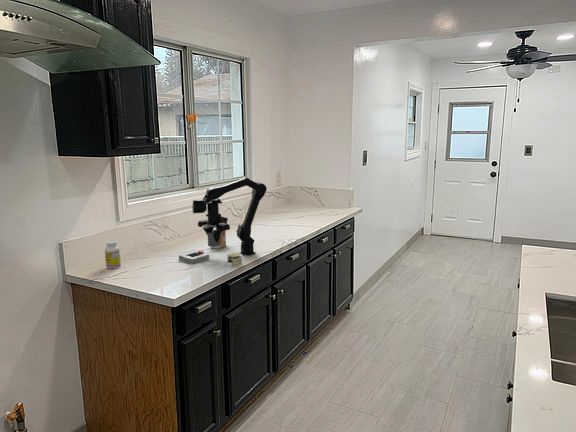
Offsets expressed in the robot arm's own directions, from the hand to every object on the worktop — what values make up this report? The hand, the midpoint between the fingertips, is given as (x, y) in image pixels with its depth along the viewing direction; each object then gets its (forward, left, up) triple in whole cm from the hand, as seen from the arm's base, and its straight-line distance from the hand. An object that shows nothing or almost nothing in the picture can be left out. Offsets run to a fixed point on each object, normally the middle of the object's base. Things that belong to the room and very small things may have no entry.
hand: (214, 241), depth 228 cm
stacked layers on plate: (-17, +3, -9) cm, 20 cm away
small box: (+14, -15, -9) cm, 22 cm away
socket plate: (+5, +9, -9) cm, 14 cm away
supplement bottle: (+27, +42, -9) cm, 50 cm away
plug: (0, 0, -2) cm, 2 cm away
